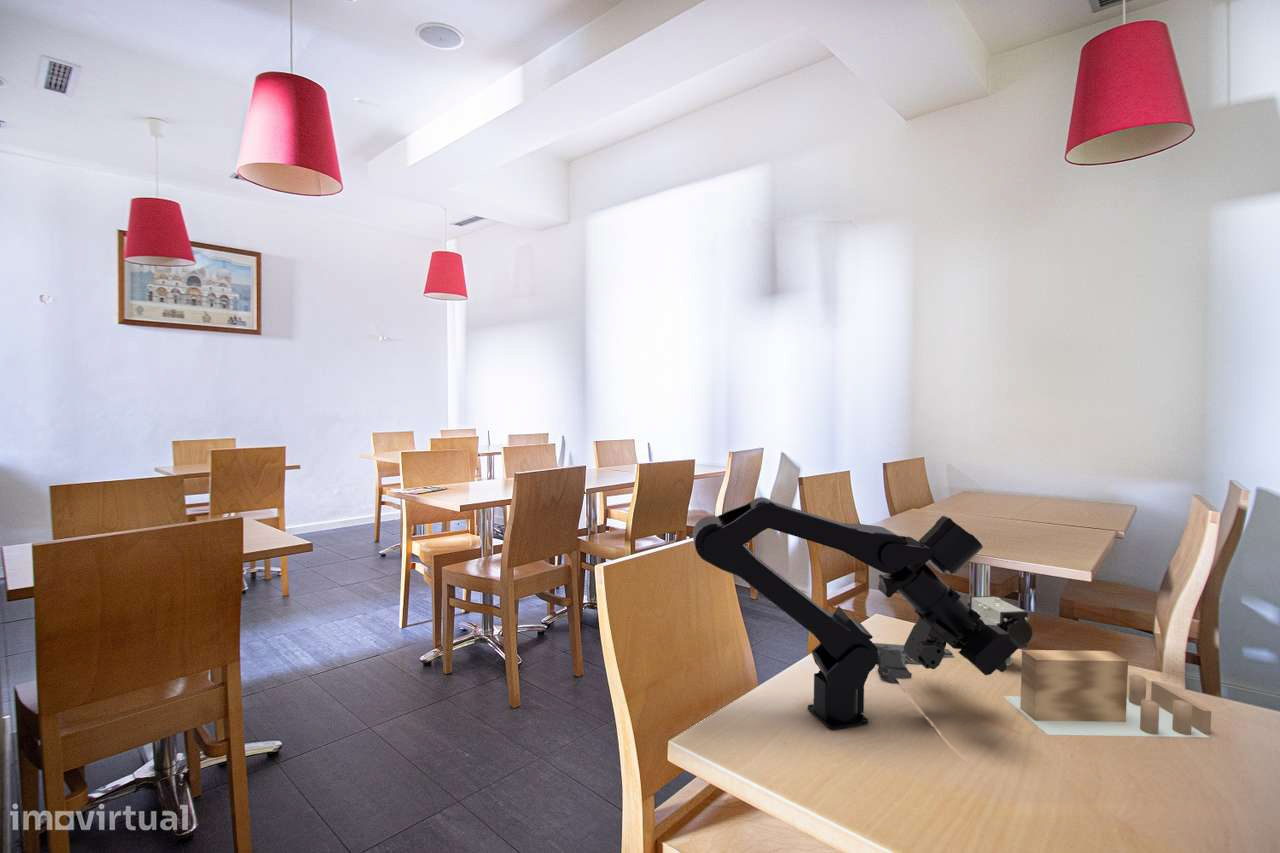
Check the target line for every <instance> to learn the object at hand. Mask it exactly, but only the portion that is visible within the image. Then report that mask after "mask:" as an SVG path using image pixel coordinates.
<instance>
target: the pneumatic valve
mask: <svg viewBox="0 0 1280 853" xmlns="http://www.w3.org/2000/svg"><path fill="white" fill-rule="evenodd" d="M966 605H967V606H968V607H970V608H971V609H973V610H974V611H976V612H977V613H978V614H979V615H980V616H981V617H980V619H981V620H982V621H983V622H984V624H986V625H996V626H998V627H999V628H1001V629H1002V630H1004V631H1005V632H1007V633H1008V634H1010V635H1011V636H1012V637H1013V638H1014V639H1015V640H1016V641H1017V642H1018V643H1019V648H1020V649H1023V648H1028V643H1030V641H1031V639H1032V637H1033V628H1032V626H1031V624H1030V623H1029V617H1028V616H1029V612H1028V611H1026V610H1024V609H1022V608H1020V607H1017V606H1015V605H1013V604H1011V603H1009V602H1007V601H1004V600H1003V599H1002V598H1000V597H998V596H994V595H981V596H979V595H978V596H974V595H973V596H969V602H967V603H966ZM1019 648H1018V649H1019ZM1005 662H1006V666H1007V667H1008V666H1009V667H1010V665H1011V664H1012V663H1013V658H1012V655H1011V656H1010V657H1009V658H1008V659H1007V660H1006V661H1005Z"/></svg>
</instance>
